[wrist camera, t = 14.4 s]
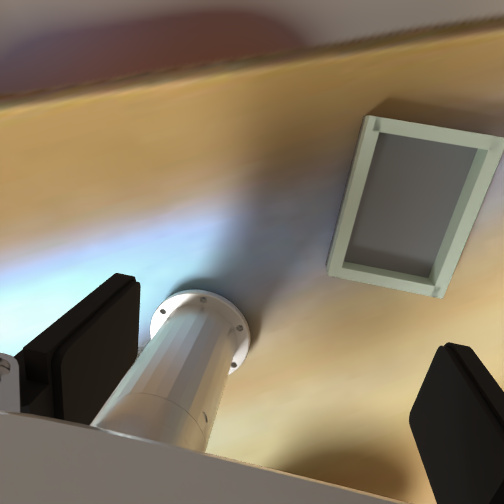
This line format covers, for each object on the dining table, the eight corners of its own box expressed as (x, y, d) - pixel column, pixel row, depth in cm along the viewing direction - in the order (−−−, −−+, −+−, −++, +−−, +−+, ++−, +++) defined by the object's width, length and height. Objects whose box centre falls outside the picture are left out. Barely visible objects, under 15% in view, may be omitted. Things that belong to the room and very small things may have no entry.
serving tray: (432, 285, 39) (442, 298, 36) (325, 264, 40) (327, 275, 37) (490, 136, 33) (508, 138, 30) (363, 115, 34) (369, 115, 31)
